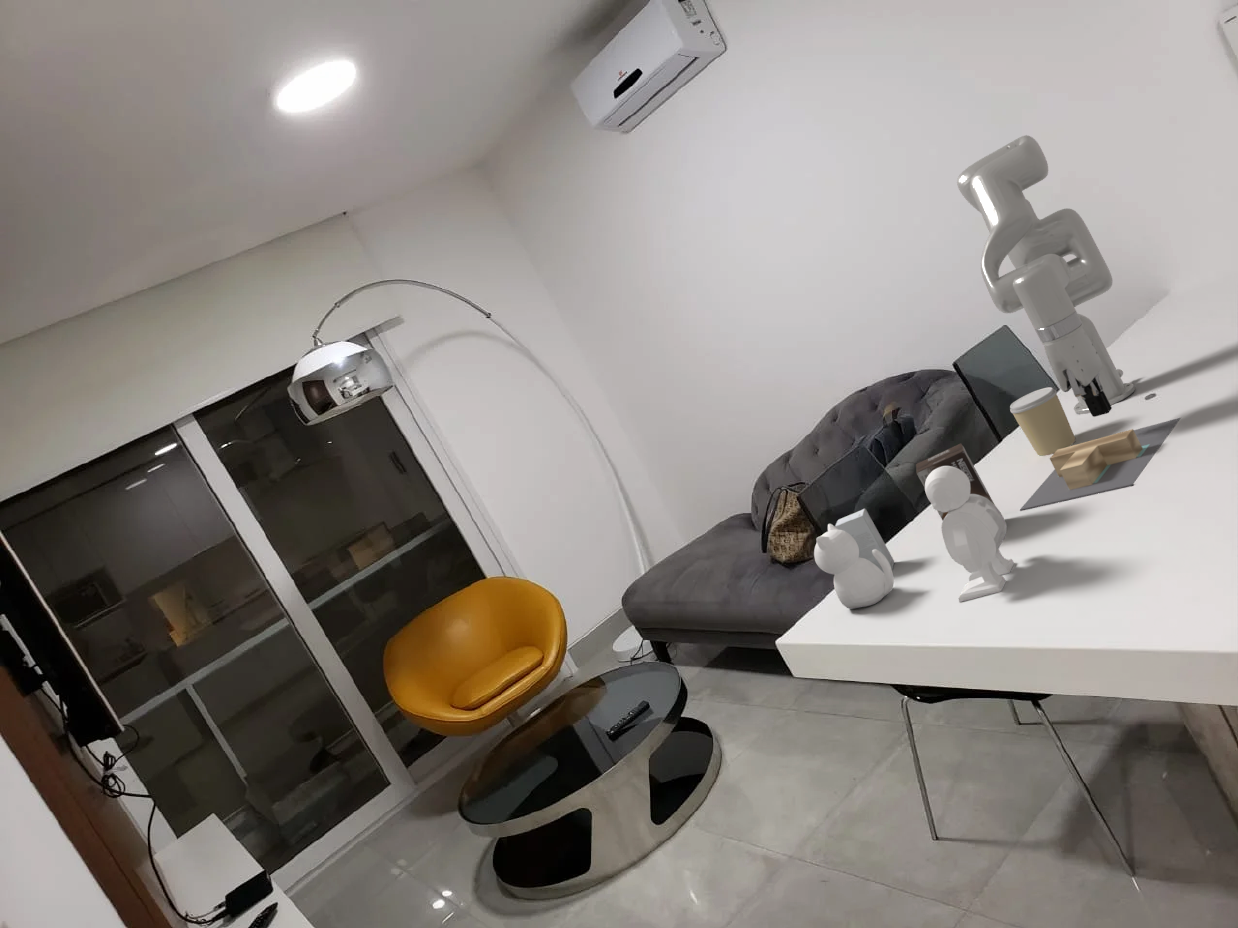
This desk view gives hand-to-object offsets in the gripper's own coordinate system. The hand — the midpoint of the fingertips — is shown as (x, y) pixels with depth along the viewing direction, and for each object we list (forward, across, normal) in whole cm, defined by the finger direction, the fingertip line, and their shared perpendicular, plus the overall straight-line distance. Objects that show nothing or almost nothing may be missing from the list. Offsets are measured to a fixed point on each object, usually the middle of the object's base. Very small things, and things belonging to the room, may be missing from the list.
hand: (1102, 412), depth 167 cm
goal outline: (+6, +13, 0) cm, 15 cm away
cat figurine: (+5, +52, -26) cm, 58 cm away
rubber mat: (+6, +11, 0) cm, 12 cm away
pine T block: (+5, +15, 0) cm, 16 cm away
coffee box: (+6, +32, -14) cm, 35 cm away
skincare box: (+6, +40, -32) cm, 51 cm away
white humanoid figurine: (+4, +52, -2) cm, 52 cm away
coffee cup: (+7, -6, -14) cm, 17 cm away
